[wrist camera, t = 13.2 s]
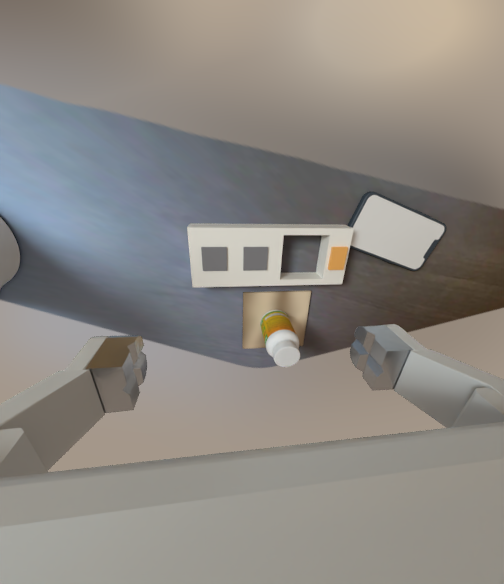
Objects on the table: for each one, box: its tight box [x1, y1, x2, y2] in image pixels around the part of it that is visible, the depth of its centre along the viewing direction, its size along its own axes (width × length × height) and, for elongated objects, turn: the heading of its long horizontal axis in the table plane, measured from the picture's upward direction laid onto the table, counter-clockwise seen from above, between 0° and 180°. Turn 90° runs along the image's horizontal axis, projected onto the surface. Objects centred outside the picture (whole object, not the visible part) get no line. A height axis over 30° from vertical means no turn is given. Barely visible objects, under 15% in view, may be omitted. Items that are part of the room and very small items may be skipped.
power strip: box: [187, 223, 354, 287], centre depth 36 cm, size 24×9×4 cm, turn 88°
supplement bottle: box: [260, 310, 300, 367], centre depth 39 cm, size 5×5×10 cm
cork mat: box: [243, 291, 311, 349], centre depth 44 cm, size 12×12×1 cm
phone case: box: [348, 192, 446, 271], centre depth 39 cm, size 9×2×16 cm
